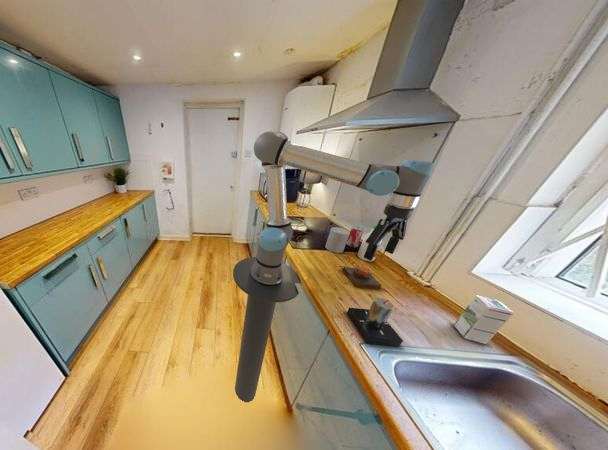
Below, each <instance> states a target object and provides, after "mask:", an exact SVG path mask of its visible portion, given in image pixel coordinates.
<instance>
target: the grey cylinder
mask: <svg viewBox="0 0 608 450" xmlns="http://www.w3.org/2000/svg"><path fill="white" fill-rule="evenodd" d="M349 234H350V230H348V229H347V228H343V227H340V226H339V227H338V226H332V227H331V228H330V231H329V234H328V237H327V240H326V243H325V245H324V248H325V249H326V250H328V251H329V252H332V253H336V254H342V253H343V252H344V251H345V247H346V245H347V244H346V242H347V240H348V237H349Z"/></svg>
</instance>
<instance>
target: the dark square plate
mask: <svg viewBox="0 0 608 450" xmlns="http://www.w3.org/2000/svg"><path fill="white" fill-rule="evenodd" d="M358 269H359V267H348V266H343V268H342V272H343V273H344V275H346V277H347V279H349V280H350V281H351V283H352V284H353V285H354V287H355V288H363V289H376V290H381V288H382V284H381V283H380V282H379V280H377V278H375V277H374V276H373V274H372V273H371V272H370V271H369V273H368V275H367V276H364V275H361V274H359V273H358V272H357V271H358Z"/></svg>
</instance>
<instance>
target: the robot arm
mask: <svg viewBox="0 0 608 450" xmlns="http://www.w3.org/2000/svg"><path fill="white" fill-rule="evenodd" d="M253 153H254V156H255V158H257V159H258V160H259V161H260V162H261V163H260V164H261V167H262V168H263V169H264V170H265V182H266V183H265V184H266V195H267V196H266V198H267V211H268V212H267V214H268V218H267V219H266V221H265V226H266V228H264V229H262V230H261V231H260V233H259V236H258V243H257V250H256V256H255V257H256V260H255V262H254V264H253V265H252V267H251V270H250V275H251V277H252V278H253V279H254V280H255V281H256V282H258V283H260V284H262V285H266V286H276V285H278V284H280V283H281V282H282V279H283V272H282V267H281V264H282V263H283V259H284V255H285V251H286V249H287V247H288V245H289V243H290V241H292V238H293V235H294V229H293V225H292V222H291V221H292V219H290V218H289V217H288V203H287V202H288V201H287V180H286V166H287V167H291V168H294V169H297V170H301V171H304V172H307V173H310V174H314V175H317V176H321V177H323V178H326V179H330V180H333V181H337V182H340V183H343V184H347V185H349V186H351V187H352V186H353V187H355V188H358V189H362V190H364V191H367V192H368V193H370V194H372V195H374V196H379V197H381V196H382V197H384V196H387V195H388V196H389V198H388V201H387V204H385V207H384V210H383V214H384V215H385V216H386V217H385V219H383V218H380V219H379V220H378V222H377V226H376V227H375V229H374V230H373V232H372V233H371V234H370V236H369V237H368V239H367V240H366V243H368V247H367V249H366V252H365V254H364V258H366V259H368V260H370V261H371V260H372V259H373V257H374V254H375V252H376V250H377V247H378V246H377V244H378V243H379V242H380V241H381V240H382V241H383V239H384V238H385V237H386V235H388V234H389V233H391V235H392V236H390V238H389V240H388V242H387V244H386V246H385V248H384V252H386V253H388V254H390V255H393V254H394V252H395V251H396V249H397V246H398V245H399V242H400V241H404V239H405V236H406V233H407V225H408V221H409V219H411V217H412V215H413V213H414V211H415V209H414V208H416V207H417V205H418V204H419V203H418V202H419V201H420V198H421V195H422V193H423V191H424V189H425V187H426V185H427V183H428V182H429V180H430V178H431V175H432V173H433V170H434V167H435V163H434V162H432V161H427V160H415V159H413V160H411V159H410V160H409V159H408V160H404V161H403V163H402V164H401V165H386V164H375V163H374V164H373V163H366V162H362V161H358V160H354V159H350V158H348V157H345V156H344V157H343V156H341V155H336V154H332V153H329V152H324V151H322V150H317V149H313V148H310V147H307V146H302V145H299V144H295V143H292V141H291V139H290V138H289V137H288V136H287V135H286V134H285V133H283V132H281V131H265V132H263V133H261V134H259V135H258V137H256V139H255V141H254V142H253ZM370 261H369V262H370ZM371 262H372V261H371Z"/></svg>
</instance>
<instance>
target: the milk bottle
mask: <svg viewBox="0 0 608 450" xmlns="http://www.w3.org/2000/svg"><path fill="white" fill-rule="evenodd" d="M377 224H378V223H377ZM377 224H376V223H374V224H373V225H372V227H371V229H370V231H369V232H368V233H366V234H365V236H364V237H363V240H362V242H361V244H360V247H359V249H358V252H357V257H358V258H359V259H360V260H363V261H365V262H374V261H375V259H376V257H377V255H378V252H379V250H380V248H381V245H382V242H383V239H382V240H381V241H380V242H379V243H378V244H377V246H378V247H377V250H376V252H375V254H374V257H373V259H372V260H371V261H370V260H368V259H366V258H364V254H365V252H366V249H367V247H368V243H366V240H367V239H368V237H369V236H370V234H371V233H372V232H373V230H374V229H375V227H376V226H377Z"/></svg>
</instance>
